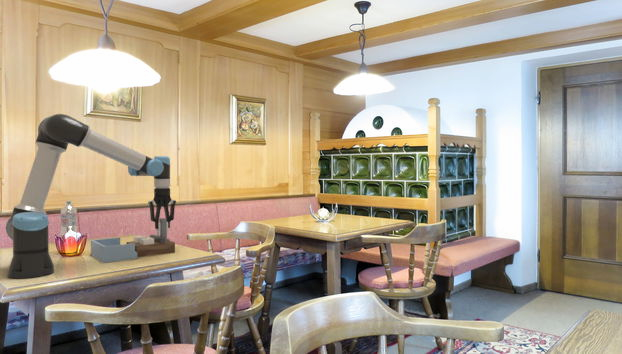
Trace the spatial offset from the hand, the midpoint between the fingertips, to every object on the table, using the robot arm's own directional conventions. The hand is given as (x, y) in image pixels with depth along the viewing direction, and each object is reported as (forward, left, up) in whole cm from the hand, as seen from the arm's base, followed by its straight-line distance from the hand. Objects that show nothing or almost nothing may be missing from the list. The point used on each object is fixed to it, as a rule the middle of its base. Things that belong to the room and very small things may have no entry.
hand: (162, 235), depth 219 cm
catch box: (0, +23, -8) cm, 24 cm away
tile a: (-4, +9, -3) cm, 10 cm away
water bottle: (+24, +37, -8) cm, 45 cm away
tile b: (+4, +9, -3) cm, 11 cm away
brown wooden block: (0, +6, -8) cm, 10 cm away
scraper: (0, +1, -3) cm, 3 cm away
